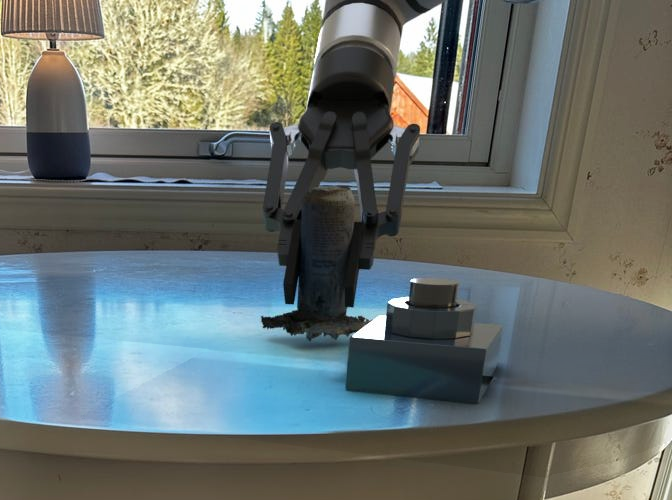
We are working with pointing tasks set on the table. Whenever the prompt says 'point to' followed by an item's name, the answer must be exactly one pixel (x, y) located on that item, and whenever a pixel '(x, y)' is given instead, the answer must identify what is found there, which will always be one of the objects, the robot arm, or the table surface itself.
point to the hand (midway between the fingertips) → (318, 295)
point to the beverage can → (323, 267)
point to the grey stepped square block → (424, 353)
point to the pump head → (433, 293)
